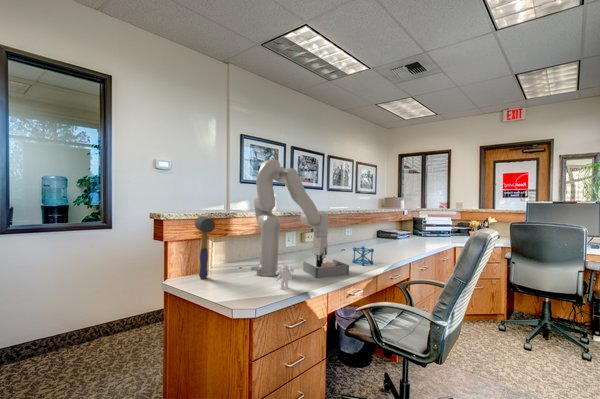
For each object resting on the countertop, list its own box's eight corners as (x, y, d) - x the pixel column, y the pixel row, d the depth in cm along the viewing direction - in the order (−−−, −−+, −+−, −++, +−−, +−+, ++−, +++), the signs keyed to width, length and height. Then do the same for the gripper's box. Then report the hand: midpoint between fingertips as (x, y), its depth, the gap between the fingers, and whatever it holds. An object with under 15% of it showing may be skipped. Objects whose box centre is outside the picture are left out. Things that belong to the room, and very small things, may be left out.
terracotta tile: (332, 273, 167) (332, 266, 167) (321, 271, 171) (321, 263, 171) (338, 270, 173) (338, 263, 172) (327, 268, 177) (327, 261, 176)
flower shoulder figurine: (278, 291, 133) (279, 264, 133) (273, 288, 136) (274, 262, 136) (294, 287, 139) (295, 261, 139) (289, 285, 142) (290, 259, 142)
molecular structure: (362, 261, 200) (362, 245, 199) (374, 264, 192) (374, 248, 191) (351, 262, 194) (351, 247, 194) (363, 266, 186) (363, 249, 185)
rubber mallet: (214, 280, 146) (216, 217, 145) (198, 282, 142) (200, 217, 141) (207, 274, 156) (209, 215, 156) (192, 275, 152) (193, 215, 152)
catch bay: (316, 277, 156) (316, 268, 156) (303, 270, 170) (303, 261, 170) (348, 274, 165) (349, 265, 165) (333, 267, 179) (334, 259, 178)
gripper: (308, 232, 178) (307, 264, 178) (321, 236, 164) (320, 270, 165) (319, 232, 181) (318, 263, 181) (333, 236, 168) (331, 269, 168)
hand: (319, 266), depth 173 cm, fingers closed
